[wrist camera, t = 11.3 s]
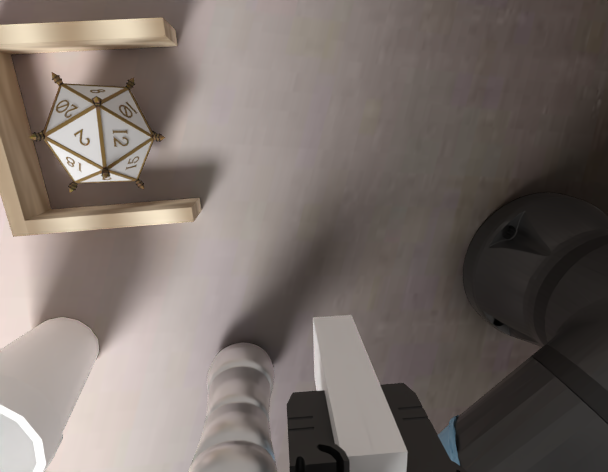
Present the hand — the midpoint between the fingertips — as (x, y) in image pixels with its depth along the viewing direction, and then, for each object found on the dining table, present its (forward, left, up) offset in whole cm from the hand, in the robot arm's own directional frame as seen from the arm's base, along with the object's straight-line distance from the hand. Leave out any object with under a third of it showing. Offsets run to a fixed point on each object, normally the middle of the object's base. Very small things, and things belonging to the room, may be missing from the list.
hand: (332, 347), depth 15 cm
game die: (+14, -8, -23) cm, 28 cm away
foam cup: (+23, +11, -23) cm, 35 cm away
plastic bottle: (+6, +15, -23) cm, 28 cm away
